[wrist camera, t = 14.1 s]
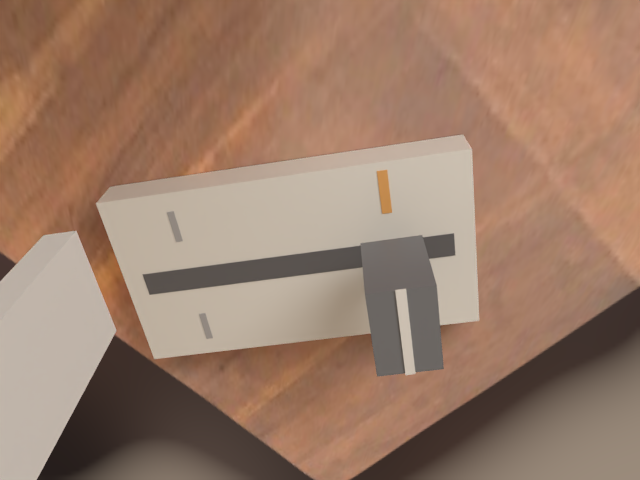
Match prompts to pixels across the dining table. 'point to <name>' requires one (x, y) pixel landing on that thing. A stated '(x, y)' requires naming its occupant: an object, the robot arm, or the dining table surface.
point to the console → (289, 244)
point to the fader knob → (402, 306)
